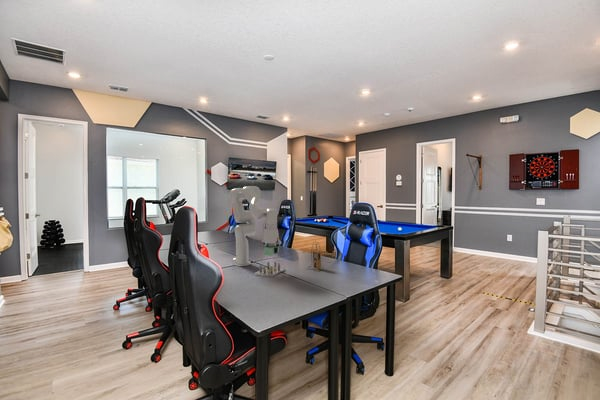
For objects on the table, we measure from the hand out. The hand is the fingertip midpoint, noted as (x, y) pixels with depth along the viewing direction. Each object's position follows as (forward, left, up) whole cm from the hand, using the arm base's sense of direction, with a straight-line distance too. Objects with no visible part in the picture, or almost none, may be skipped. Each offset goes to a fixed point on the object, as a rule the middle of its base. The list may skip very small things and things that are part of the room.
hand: (271, 252), depth 202 cm
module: (0, 0, -1) cm, 1 cm away
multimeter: (+22, +21, -15) cm, 34 cm away
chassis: (-2, +1, -15) cm, 15 cm away
